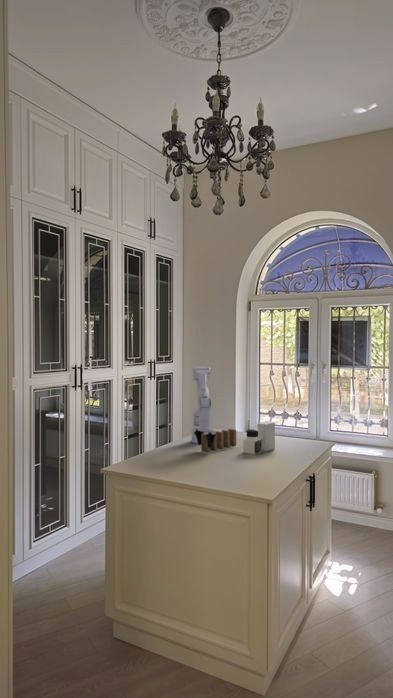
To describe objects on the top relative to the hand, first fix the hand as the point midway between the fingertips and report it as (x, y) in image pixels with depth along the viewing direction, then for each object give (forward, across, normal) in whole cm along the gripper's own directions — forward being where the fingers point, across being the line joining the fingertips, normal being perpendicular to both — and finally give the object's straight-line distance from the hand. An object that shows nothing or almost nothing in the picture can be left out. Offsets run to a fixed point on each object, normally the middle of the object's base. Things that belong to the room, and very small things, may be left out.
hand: (204, 445), depth 243 cm
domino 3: (+3, 0, +16) cm, 16 cm away
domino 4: (+3, 0, +21) cm, 21 cm away
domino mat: (+3, 0, +11) cm, 11 cm away
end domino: (+3, 0, 0) cm, 3 cm away
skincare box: (+4, +18, +28) cm, 34 cm away
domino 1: (+3, 0, +6) cm, 6 cm away
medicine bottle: (+4, +17, +18) cm, 25 cm away
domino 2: (+3, 0, +11) cm, 11 cm away
